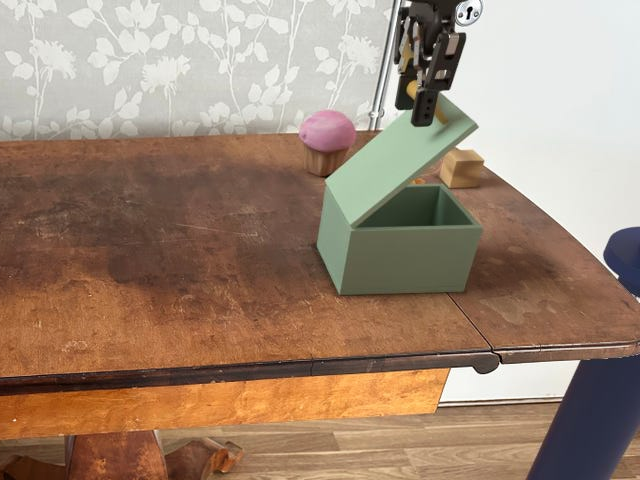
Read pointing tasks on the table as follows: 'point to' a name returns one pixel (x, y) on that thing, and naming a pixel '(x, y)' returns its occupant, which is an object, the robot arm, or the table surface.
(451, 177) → the block
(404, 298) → the table surface
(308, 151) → the cupcake
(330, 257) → the chest
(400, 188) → the lid
